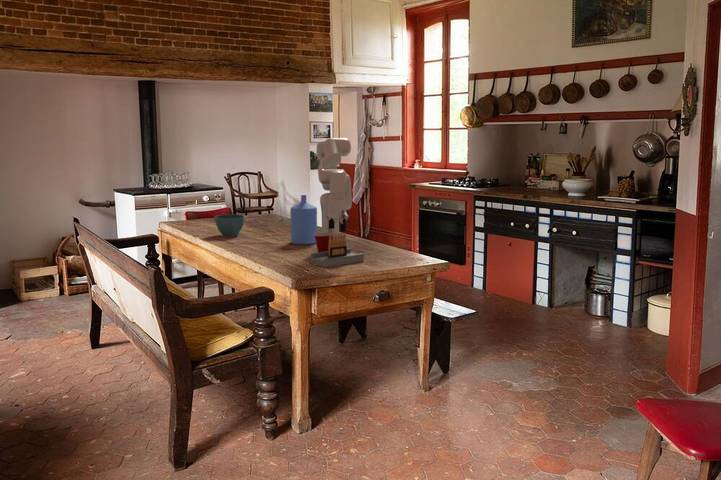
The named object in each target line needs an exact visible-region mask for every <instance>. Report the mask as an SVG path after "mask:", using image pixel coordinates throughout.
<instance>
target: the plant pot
mask: <svg viewBox="0 0 721 480" xmlns="http://www.w3.org/2000/svg"><path fill="white" fill-rule="evenodd" d="M214 221H215V225H216V227H217V230H218V232H219V233H220V234H221V235H222V236H223V237H227V238H232V237H237V236H238V234H239V233H240V232H241V230H242V229H243V226H244V223H245V215H243V214H220V215H215V216H214Z"/></svg>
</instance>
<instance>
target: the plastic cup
mask: <svg viewBox="0 0 721 480" xmlns="http://www.w3.org/2000/svg"><path fill="white" fill-rule="evenodd" d="M330 234H331V241H332V234H334V233H322V232H320V233H319V232H318V233H317V234H314V237H315V240H316V243H315V244H316V249H317V253H319V252H326V251H328V247H329V235H330Z"/></svg>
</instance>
